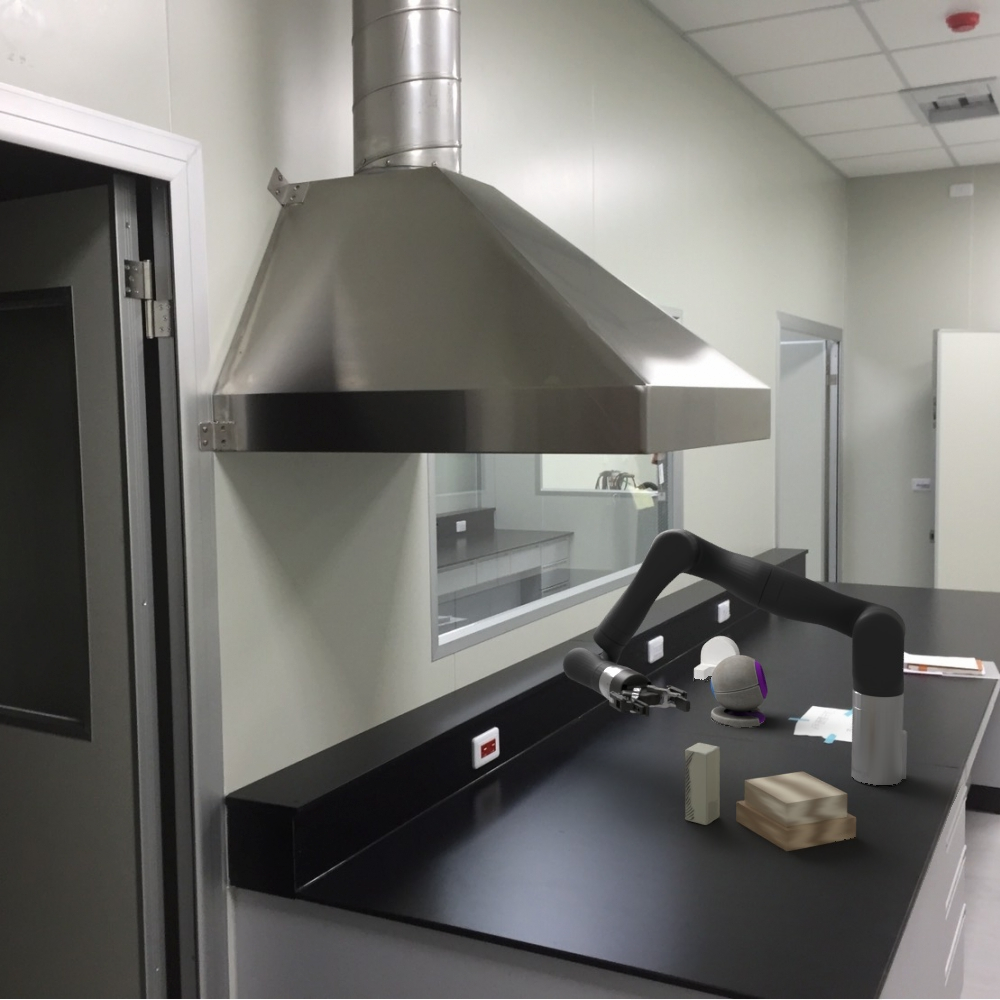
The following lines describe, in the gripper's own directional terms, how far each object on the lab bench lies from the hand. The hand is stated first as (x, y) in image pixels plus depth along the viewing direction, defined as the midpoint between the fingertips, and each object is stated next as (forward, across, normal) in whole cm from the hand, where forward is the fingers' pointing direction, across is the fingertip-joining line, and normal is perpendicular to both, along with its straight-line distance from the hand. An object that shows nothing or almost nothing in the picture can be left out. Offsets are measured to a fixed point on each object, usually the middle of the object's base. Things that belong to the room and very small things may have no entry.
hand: (668, 709), depth 194 cm
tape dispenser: (-73, +60, +17) cm, 96 cm away
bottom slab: (+21, +12, +17) cm, 30 cm away
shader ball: (-37, +41, +17) cm, 58 cm away
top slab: (+22, +12, +13) cm, 28 cm away
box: (+11, 0, +17) cm, 20 cm away
